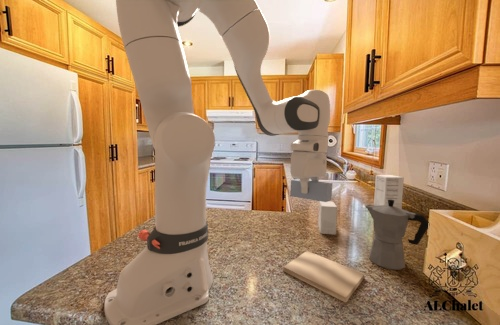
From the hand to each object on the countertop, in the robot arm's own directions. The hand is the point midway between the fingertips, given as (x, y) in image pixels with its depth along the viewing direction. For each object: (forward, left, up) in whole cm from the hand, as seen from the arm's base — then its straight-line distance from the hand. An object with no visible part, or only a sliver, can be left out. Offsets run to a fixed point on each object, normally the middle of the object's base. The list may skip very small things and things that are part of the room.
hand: (309, 192), depth 67 cm
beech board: (-8, -9, -19) cm, 22 cm away
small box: (+20, +3, -19) cm, 27 cm away
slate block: (+1, -6, +1) cm, 6 cm away
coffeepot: (+11, -20, -19) cm, 30 cm away
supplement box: (+72, -6, -19) cm, 74 cm away
